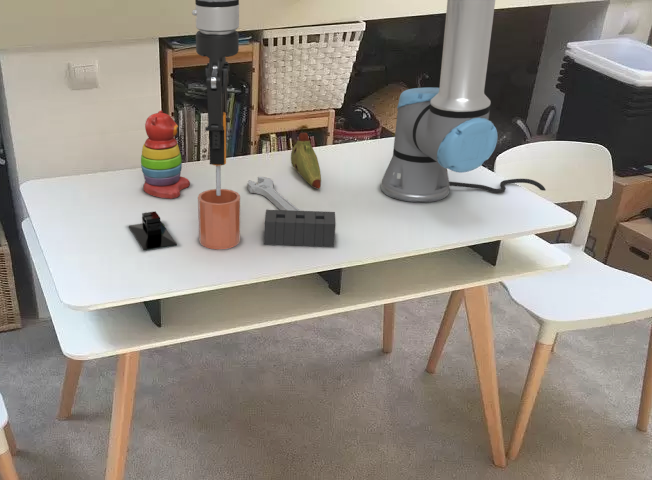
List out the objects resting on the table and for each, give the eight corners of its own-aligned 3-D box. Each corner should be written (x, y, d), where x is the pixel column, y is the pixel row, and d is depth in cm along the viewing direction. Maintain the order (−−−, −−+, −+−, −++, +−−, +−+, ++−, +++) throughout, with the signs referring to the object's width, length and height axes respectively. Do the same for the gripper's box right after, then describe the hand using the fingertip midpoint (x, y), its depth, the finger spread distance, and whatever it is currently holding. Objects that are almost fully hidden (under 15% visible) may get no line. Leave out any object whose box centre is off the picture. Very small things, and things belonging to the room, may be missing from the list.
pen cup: (241, 233, 158) (241, 189, 152) (237, 250, 151) (238, 205, 146) (202, 231, 158) (201, 188, 153) (196, 248, 151) (195, 203, 146)
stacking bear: (176, 200, 173) (172, 122, 164) (135, 195, 176) (129, 118, 166) (192, 183, 182) (190, 108, 172) (153, 179, 185) (148, 105, 175)
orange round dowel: (226, 192, 150) (226, 111, 142) (225, 198, 148) (225, 115, 139) (211, 192, 151) (210, 110, 142) (209, 197, 148) (208, 115, 140)
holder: (333, 234, 156) (335, 211, 154) (333, 247, 151) (335, 223, 149) (265, 232, 158) (266, 209, 155) (263, 244, 153) (264, 221, 150)
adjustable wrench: (308, 223, 162) (308, 215, 161) (279, 227, 160) (279, 219, 159) (268, 182, 182) (268, 175, 181) (242, 185, 180) (242, 178, 179)
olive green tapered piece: (330, 192, 176) (332, 150, 171) (307, 194, 175) (309, 152, 170) (304, 163, 193) (306, 124, 188) (284, 165, 192) (285, 125, 187)
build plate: (128, 227, 161) (126, 206, 158) (161, 222, 163) (160, 202, 160) (143, 251, 151) (141, 229, 148) (178, 245, 153) (177, 223, 150)
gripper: (201, 21, 140) (204, 146, 153) (189, 39, 127) (192, 174, 139) (242, 22, 140) (241, 147, 152) (234, 39, 126) (233, 176, 138)
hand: (218, 160), depth 146 cm, fingers closed on orange round dowel, 3 cm apart
